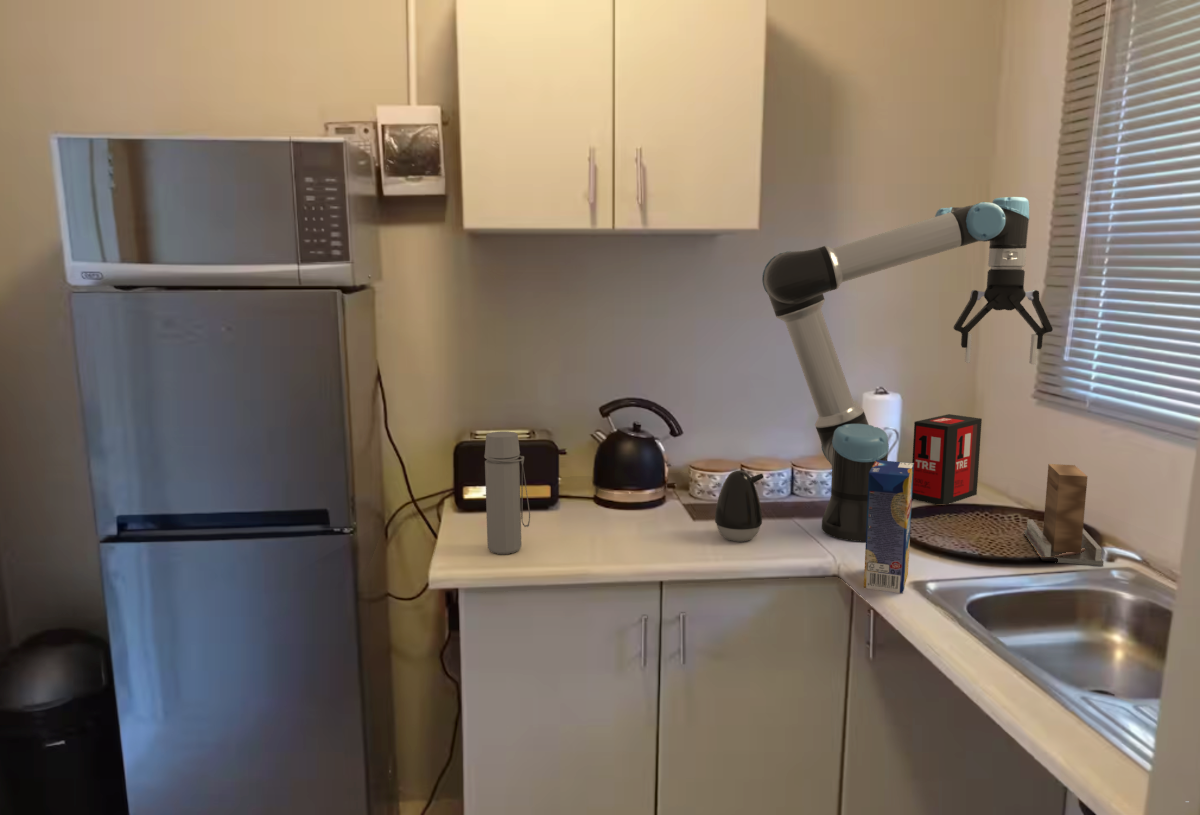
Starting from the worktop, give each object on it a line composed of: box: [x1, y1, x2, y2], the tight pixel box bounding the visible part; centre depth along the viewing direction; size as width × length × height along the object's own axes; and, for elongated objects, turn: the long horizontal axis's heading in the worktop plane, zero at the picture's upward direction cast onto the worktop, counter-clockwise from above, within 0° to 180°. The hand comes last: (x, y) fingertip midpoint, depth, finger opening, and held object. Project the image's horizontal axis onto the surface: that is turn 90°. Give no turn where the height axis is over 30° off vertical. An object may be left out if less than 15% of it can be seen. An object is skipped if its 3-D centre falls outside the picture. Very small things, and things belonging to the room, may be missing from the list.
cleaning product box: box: [911, 413, 983, 505], centre depth 218 cm, size 16×9×20 cm, turn 129°
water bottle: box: [483, 430, 531, 555], centre depth 179 cm, size 9×8×25 cm
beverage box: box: [863, 460, 914, 594], centre depth 160 cm, size 7×11×22 cm, turn 156°
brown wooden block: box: [1043, 463, 1088, 553], centre depth 177 cm, size 5×10×16 cm, turn 164°
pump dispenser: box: [714, 470, 765, 543], centre depth 187 cm, size 10×10×15 cm
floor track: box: [1023, 519, 1105, 567], centre depth 178 cm, size 11×18×4 cm, turn 164°
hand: (999, 363), depth 195 cm, fingers open, 13 cm apart
